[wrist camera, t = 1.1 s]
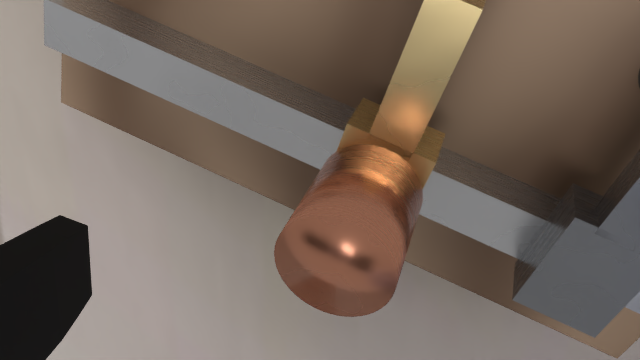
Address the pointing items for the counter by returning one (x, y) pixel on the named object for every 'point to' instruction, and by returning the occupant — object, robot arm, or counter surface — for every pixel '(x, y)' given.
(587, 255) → the fixed leg
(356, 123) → the sliding leg
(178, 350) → the counter surface
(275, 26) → the hole plate
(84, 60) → the steel beam
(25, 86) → the counter surface
